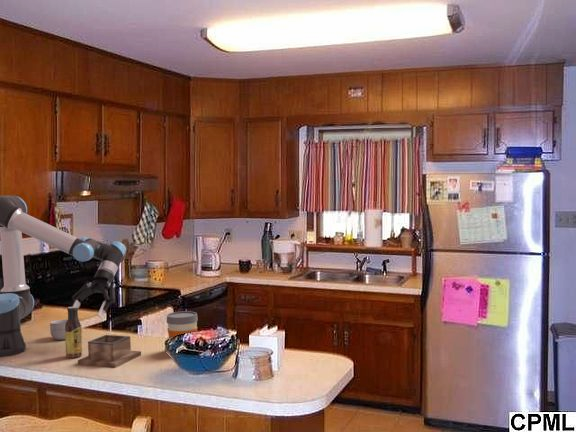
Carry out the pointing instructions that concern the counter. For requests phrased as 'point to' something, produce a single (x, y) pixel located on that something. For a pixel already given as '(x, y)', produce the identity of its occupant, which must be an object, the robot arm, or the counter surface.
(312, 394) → the counter surface
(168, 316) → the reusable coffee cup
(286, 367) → the counter surface
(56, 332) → the teacup
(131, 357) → the box on a tray
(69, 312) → the sauce bottle
